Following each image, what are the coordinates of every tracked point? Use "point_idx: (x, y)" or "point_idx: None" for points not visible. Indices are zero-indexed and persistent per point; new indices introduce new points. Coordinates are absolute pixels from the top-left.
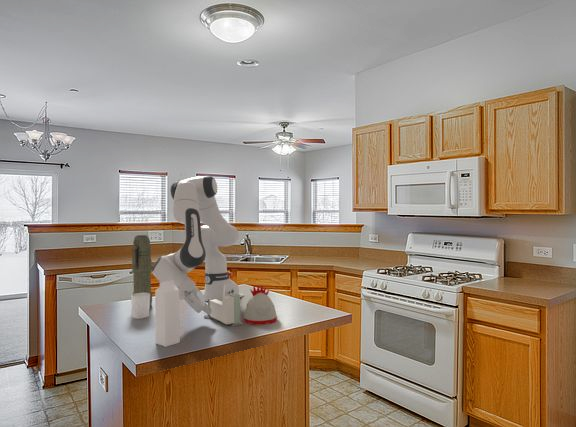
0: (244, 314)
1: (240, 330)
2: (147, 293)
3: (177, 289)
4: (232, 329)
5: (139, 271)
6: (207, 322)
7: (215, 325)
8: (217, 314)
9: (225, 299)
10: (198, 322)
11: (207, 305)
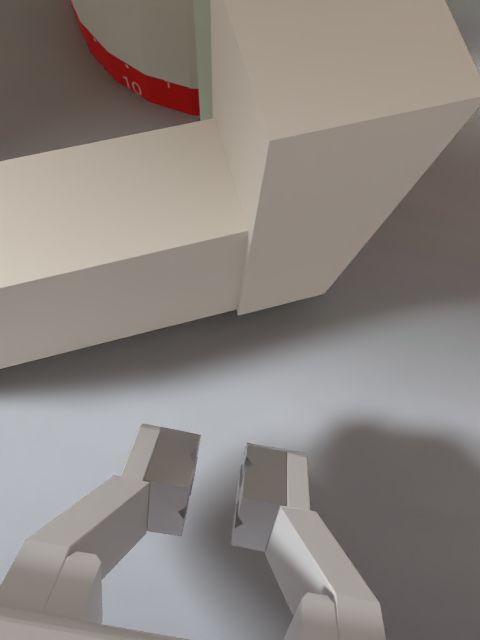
0: (195, 59)
1: (466, 216)
2: None
3: None
4: (415, 270)
5: None
6: (68, 450)
7: (223, 390)
8: (92, 328)
9: (431, 127)
10: (16, 554)
11: (117, 508)
